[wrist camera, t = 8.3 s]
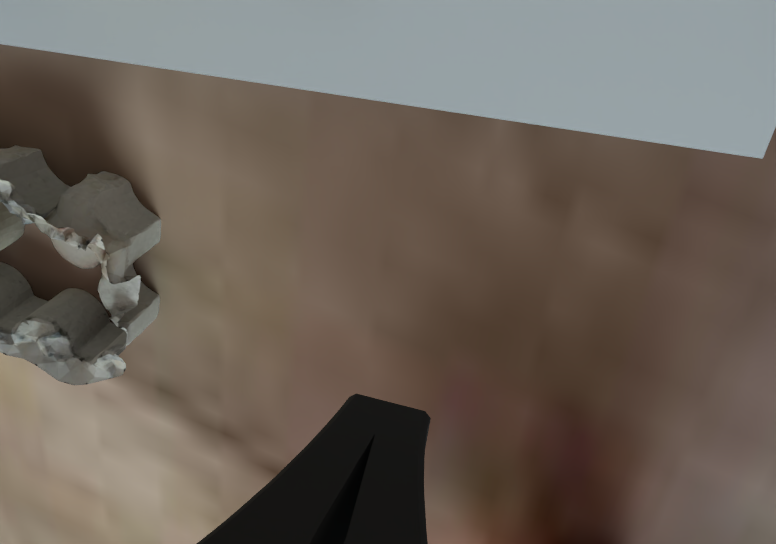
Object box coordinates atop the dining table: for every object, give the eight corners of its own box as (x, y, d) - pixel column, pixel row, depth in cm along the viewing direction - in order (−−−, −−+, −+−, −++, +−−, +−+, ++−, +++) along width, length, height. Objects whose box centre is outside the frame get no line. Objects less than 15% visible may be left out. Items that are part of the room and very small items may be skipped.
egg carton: (178, 187, 21) (103, 241, 18) (163, 350, 25) (99, 419, 22) (-99, 83, 22) (-224, 115, 18) (-71, 257, 26) (-169, 310, 22)
